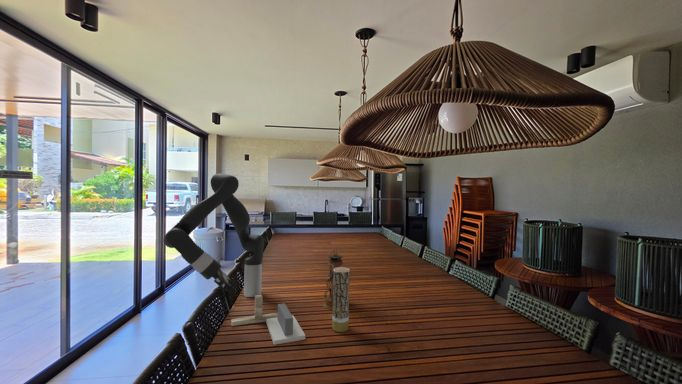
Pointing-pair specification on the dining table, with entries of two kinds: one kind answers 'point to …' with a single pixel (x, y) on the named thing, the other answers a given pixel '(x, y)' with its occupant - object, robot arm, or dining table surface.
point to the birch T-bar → (257, 314)
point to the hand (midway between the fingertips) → (234, 290)
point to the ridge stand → (284, 327)
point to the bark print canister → (340, 299)
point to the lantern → (333, 263)
